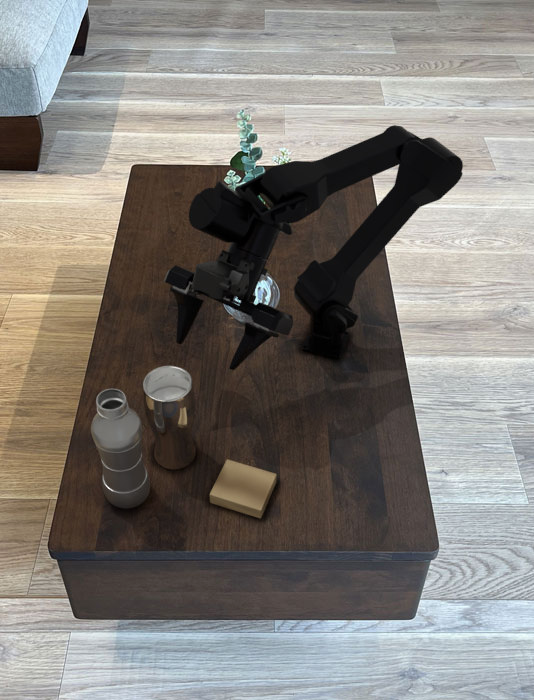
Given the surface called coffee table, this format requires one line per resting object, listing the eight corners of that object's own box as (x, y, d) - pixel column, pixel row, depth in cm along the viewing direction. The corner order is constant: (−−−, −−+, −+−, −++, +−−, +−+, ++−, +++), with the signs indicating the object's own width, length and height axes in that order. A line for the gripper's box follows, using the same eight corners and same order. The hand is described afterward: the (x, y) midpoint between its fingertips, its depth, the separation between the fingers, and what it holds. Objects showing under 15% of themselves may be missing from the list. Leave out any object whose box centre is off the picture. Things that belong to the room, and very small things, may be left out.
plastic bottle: (128, 468, 114) (111, 371, 100) (162, 493, 111) (149, 397, 97) (94, 497, 111) (72, 401, 97) (129, 523, 108) (110, 428, 94)
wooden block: (227, 467, 114) (226, 458, 113) (276, 482, 113) (276, 473, 111) (209, 502, 110) (209, 494, 109) (260, 519, 108) (261, 510, 107)
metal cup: (155, 477, 113) (146, 407, 103) (147, 440, 118) (137, 369, 107) (203, 466, 114) (199, 396, 104) (193, 430, 119) (187, 360, 109)
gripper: (166, 217, 107) (122, 324, 108) (283, 265, 99) (234, 380, 100) (204, 235, 117) (163, 333, 118) (313, 280, 109) (268, 384, 110)
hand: (204, 356), depth 111 cm, fingers open, 9 cm apart
